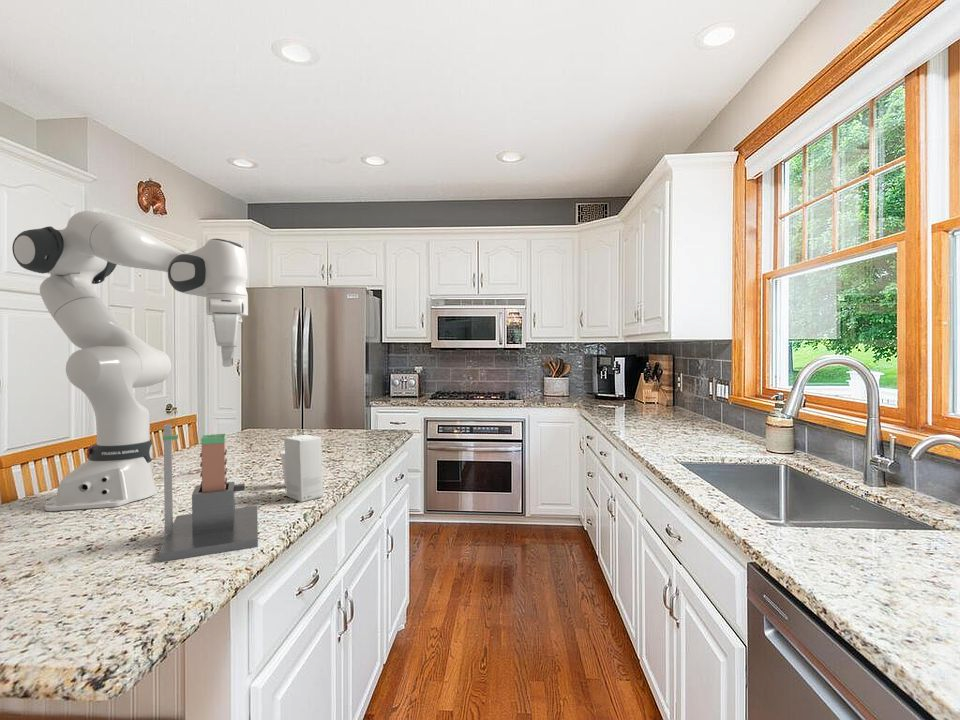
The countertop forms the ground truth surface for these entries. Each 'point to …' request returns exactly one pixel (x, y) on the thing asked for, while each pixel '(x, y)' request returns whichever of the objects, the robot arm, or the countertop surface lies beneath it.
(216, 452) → the column
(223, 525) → the stand
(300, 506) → the countertop surface
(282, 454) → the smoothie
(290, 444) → the skincare box
